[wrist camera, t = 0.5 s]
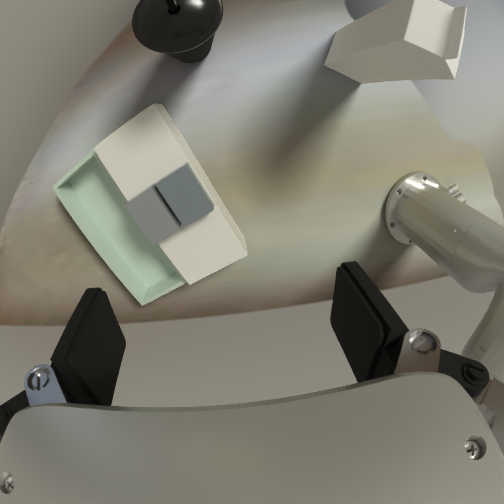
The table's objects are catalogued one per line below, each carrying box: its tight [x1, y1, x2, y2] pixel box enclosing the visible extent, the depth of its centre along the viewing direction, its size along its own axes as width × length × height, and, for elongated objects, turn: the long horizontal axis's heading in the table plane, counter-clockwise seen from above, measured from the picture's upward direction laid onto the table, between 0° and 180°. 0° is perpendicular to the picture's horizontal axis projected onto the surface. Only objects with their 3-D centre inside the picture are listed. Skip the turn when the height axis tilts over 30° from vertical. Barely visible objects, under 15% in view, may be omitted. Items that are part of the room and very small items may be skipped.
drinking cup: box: [132, 0, 223, 63], centre depth 19 cm, size 8×8×20 cm
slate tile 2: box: [124, 183, 182, 245], centre depth 32 cm, size 4×6×2 cm, turn 28°
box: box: [52, 150, 187, 306], centre depth 37 cm, size 9×22×4 cm, turn 28°
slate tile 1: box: [155, 162, 214, 227], centre depth 32 cm, size 4×6×2 cm, turn 28°
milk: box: [324, 0, 467, 84], centre depth 21 cm, size 6×6×22 cm
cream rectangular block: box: [94, 103, 248, 285], centre depth 35 cm, size 9×22×5 cm, turn 28°
